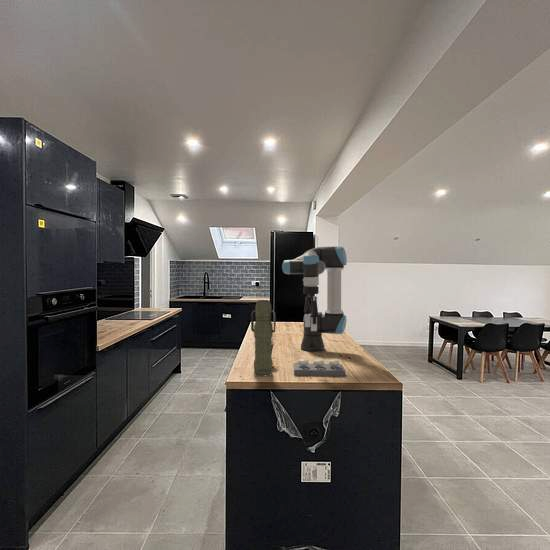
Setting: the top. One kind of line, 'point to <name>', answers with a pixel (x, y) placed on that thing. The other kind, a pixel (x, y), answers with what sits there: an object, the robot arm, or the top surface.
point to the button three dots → (318, 363)
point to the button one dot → (334, 363)
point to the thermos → (263, 337)
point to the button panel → (319, 370)
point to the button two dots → (303, 362)
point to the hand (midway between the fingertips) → (310, 328)
